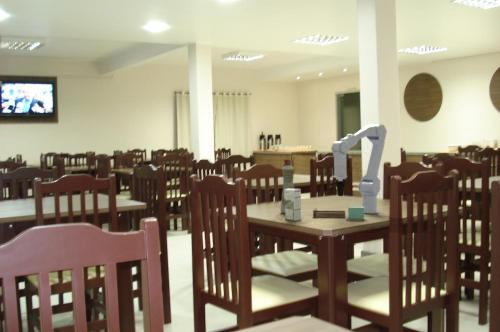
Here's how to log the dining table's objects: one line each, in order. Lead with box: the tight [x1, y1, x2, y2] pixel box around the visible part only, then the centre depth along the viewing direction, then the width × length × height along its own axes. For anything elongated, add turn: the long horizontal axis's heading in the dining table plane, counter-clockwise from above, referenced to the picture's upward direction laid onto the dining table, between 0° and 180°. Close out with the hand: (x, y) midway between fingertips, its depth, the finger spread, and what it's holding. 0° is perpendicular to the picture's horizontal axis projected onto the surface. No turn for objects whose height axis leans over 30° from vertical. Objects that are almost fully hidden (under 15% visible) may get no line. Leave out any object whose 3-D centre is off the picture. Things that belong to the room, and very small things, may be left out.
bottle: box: [280, 157, 295, 215], centre depth 273 cm, size 9×9×28 cm
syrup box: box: [284, 188, 302, 222], centre depth 251 cm, size 6×6×14 cm
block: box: [347, 206, 365, 220], centre depth 248 cm, size 4×7×5 cm, turn 80°
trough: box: [312, 207, 346, 219], centre depth 259 cm, size 8×15×4 cm, turn 80°
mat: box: [345, 216, 365, 222], centre depth 249 cm, size 8×8×1 cm
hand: (340, 194), depth 257 cm, fingers open, 7 cm apart
